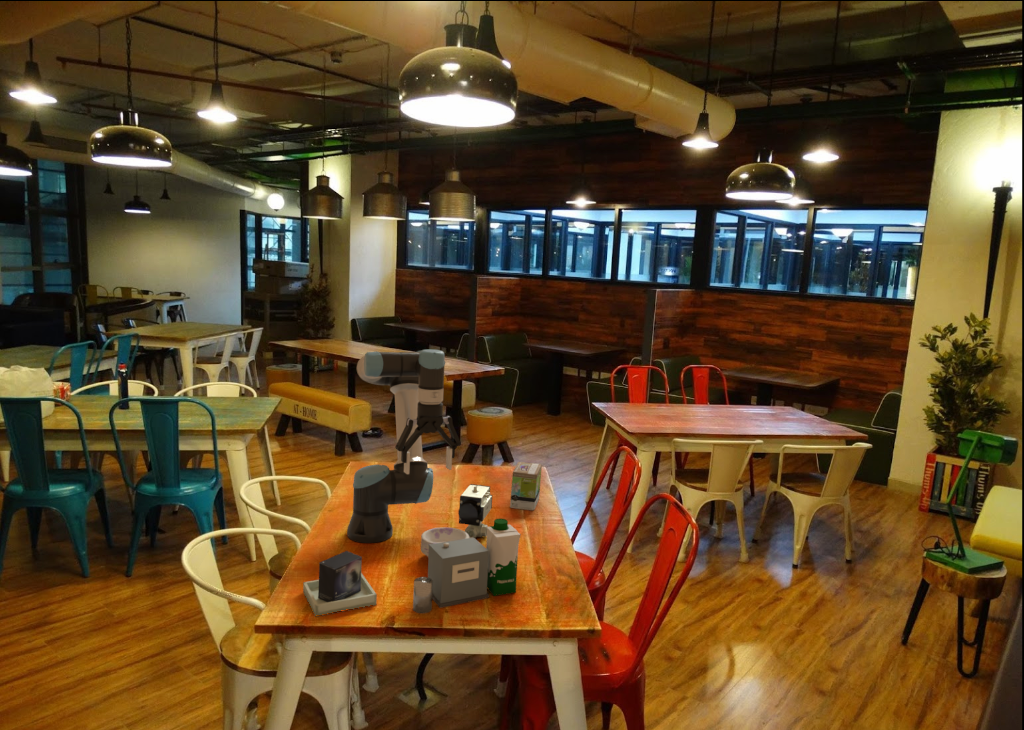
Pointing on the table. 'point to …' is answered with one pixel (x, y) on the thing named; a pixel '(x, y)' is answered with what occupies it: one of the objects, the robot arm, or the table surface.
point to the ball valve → (475, 509)
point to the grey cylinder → (422, 595)
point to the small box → (339, 577)
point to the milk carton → (502, 557)
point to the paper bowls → (440, 537)
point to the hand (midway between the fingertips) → (427, 470)
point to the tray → (354, 601)
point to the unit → (458, 571)
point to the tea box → (525, 486)
